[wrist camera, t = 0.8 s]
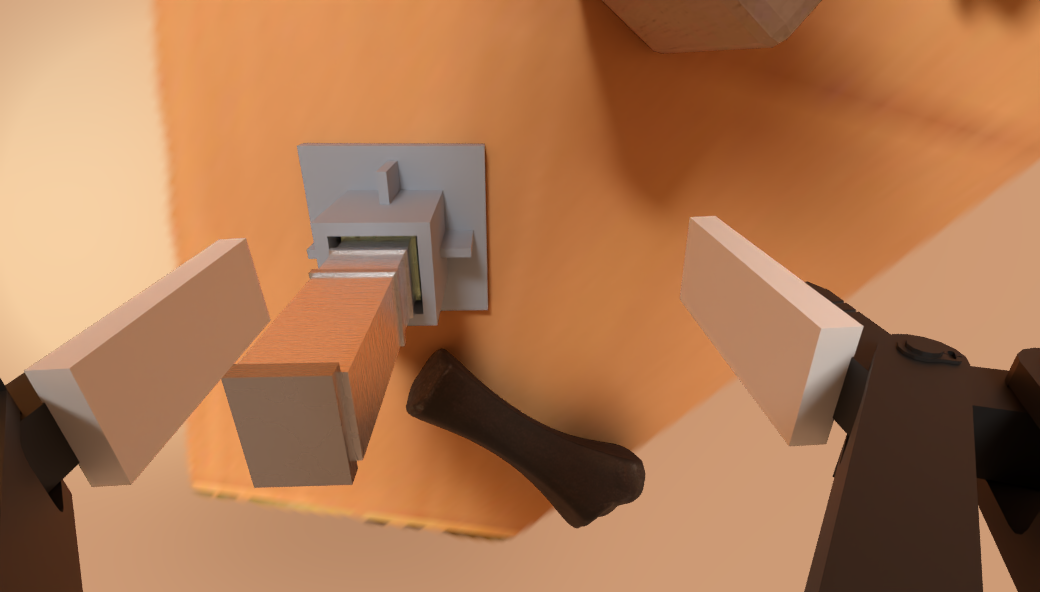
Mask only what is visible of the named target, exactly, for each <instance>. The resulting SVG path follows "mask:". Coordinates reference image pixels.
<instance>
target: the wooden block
mask: <svg viewBox="0 0 1040 592" xmlns="http://www.w3.org/2000/svg"><path fill="white" fill-rule="evenodd" d="M602 1H603V2H604V3H605V4H606V5H607V6H608V7H609V8H610V9H611V10H612V11H613V12H614V13H615V14H616V15H617V16H618V17H619V18H620V19H621V20H622V21H623V22H624V23H626V24H627V25H628V26H629V27H630V28H631V29H632V30H633V31H634V32H635V33H636V34H637V35H638V36H639V37H640V38H641V39H642V40H643V41H644V42H645V43H646V44H647V45H648V46H649V47H650V48H651V49H652V50H653V51H656V52H659V53H680V52H698V51H717V50H735V49H754V48H773V47H774V46H776V45H778V44H780V43H781V42H783V41H785V40H787V39H788V38H789V37H790V35H791V34H792V33H793V32H794V31H795V30H796V29H797V28H798V26H799V25H800V24H801V23H802V22H803V21H804V20H805V19H806V17H807V16H808V15H809V14H810V13H811V12H812V11H813V10H814V8H815V7H816V6H817V5H818V4H819V3H820V2H821V1H822V0H602Z"/></svg>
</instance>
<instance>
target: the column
mask: <svg viewBox="0 0 1040 592" xmlns="http://www.w3.org/2000/svg"><path fill="white" fill-rule="evenodd" d="M309 277H310V279H309V281H308V282H307V283H306V284H305V285H304V286H303V288H302V289H301V290H300V291H299V292H298V294H297V295H296V296H295V297H294V298H293V299H292V301H291V302H290V303H289V304H288V305H287V306H286V308H285V309H284V310H283V311H282V312H281V313H280V315H279V316H278V317H277V318H276V319H275V320H274V322H273V323H272V324H271V325H270V326H269V328H268V329H267V330H266V331H265V332H264V333H263V335H262V336H261V337H260V338H259V339H258V340H257V342H256V343H255V344H254V345H253V346H252V347H251V349H250V350H249V351H248V352H247V353H246V354H245V356H244V357H243V358H242V359H241V360H240V361H239V363H238V364H233V365H232V366H231V368H230V369H229V370H228V371H227V372H226V373H225V375H224V376H223V377H222V378H221V380H222V383H223V386H224V389H225V393H226V396H227V399H228V403H229V406H230V409H231V413H232V416H233V419H234V422H235V426H236V429H237V432H238V436H239V439H240V442H241V445H242V449H243V452H244V455H245V459H246V462H247V465H248V469H249V472H250V475H251V478H252V482H253V485H254V488H259V487H292V486H326V485H352V484H353V481H354V478H355V475H356V472H357V469H358V467H357V460H363V458H364V455H365V452H366V449H367V446H368V443H369V440H370V437H371V434H372V431H373V428H374V425H375V422H376V419H377V416H378V413H379V410H380V407H381V404H382V401H383V398H384V395H385V392H386V389H387V386H388V383H389V380H390V377H391V374H392V371H393V368H394V365H395V362H396V359H397V356H398V353H399V349H400V346H405V344H406V336H405V331H406V328H407V325H408V322H409V319H410V318H414V315H415V313H414V304H415V301H416V300H421V298H422V290H421V278H420V267H419V255H418V243H417V236H341V243H340V244H339V245H338V247H337V248H330V249H329V257H328V258H327V260H326V261H325V262H324V263H323V264H322V265H321V267H320V268H319V269H312V270H311V271H310V272H309Z"/></svg>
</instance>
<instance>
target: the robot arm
mask: <svg viewBox="0 0 1040 592" xmlns="http://www.w3.org/2000/svg"><path fill="white" fill-rule="evenodd" d="M680 300H681V302H682V303H683V304H684V306H685V307H686V308H687V310H688V311H689V312H690V314H691V315H692V316H693V318H694V319H695V321H696V322H697V323H698V325H699V326H700V327H701V329H702V330H703V331H704V333H705V334H706V335H707V337H708V338H709V339H710V341H711V342H712V343H713V345H714V346H715V347H716V349H717V350H718V351H719V353H720V354H721V355H722V357H723V358H724V360H725V361H726V362H727V364H728V365H729V366H730V368H731V369H732V370H733V372H734V373H735V374H736V376H737V377H738V378H739V380H740V381H741V382H742V384H743V385H744V386H745V388H746V389H747V390H748V392H749V393H750V394H751V396H752V397H753V399H754V400H755V401H756V402H757V404H758V405H759V407H760V408H761V409H762V410H763V412H764V413H765V415H766V416H767V417H768V419H769V420H770V421H771V423H772V424H773V425H774V427H775V428H776V429H777V431H778V432H779V433H780V435H781V436H782V437H783V439H784V440H785V442H786V443H787V444H788V445H789V446H800V445H801V446H803V445H819V444H826V443H827V440H828V437H829V434H830V431H831V427H832V424H833V421H834V420H835V421H836V422H837V423H838V424H839V425H840V426H841V428H842V429H843V430H844V431H845V432H846V433H847V436H846V439H845V441H844V445H843V448H842V450H841V453H840V457H839V459H838V462H837V465H836V468H835V471H834V474H833V477H834V481H833V486H832V489H831V493H830V496H829V500H828V504H827V508H826V512H825V515H824V519H823V523H822V527H821V531H820V535H819V538H818V542H817V546H816V549H815V553H814V557H813V561H812V565H811V568H810V572H809V576H808V580H807V584H806V587H805V591H804V592H983V583H982V565H981V548H980V530H979V513H978V506H979V508H980V510H981V512H982V514H983V516H984V519H985V521H986V523H987V525H988V527H989V530H990V532H991V534H992V536H993V538H994V541H995V543H996V545H997V547H998V549H999V551H1000V554H1001V556H1002V558H1003V560H1004V562H1005V564H1006V567H1007V569H1008V571H1009V573H1010V575H1011V578H1012V580H1013V582H1014V584H1015V586H1016V589H1017V591H1018V592H1040V348H1030V349H1023V350H1022V351H1021V352H1019V353H1018V354H1017V356H1016V358H1015V360H1014V362H1013V364H1012V366H1011V368H1010V370H1009V371H1007V370H998V369H990V368H981V367H972V366H970V364H969V362H968V360H967V358H966V357H965V356H964V355H962V354H961V353H960V352H959V351H957V350H956V349H954V348H952V347H950V346H947V345H945V344H943V343H941V342H938V341H935V340H932V339H928V338H925V337H920V336H914V335H908V334H892V335H891V334H889V333H888V332H886V331H885V330H884V329H882V328H881V327H879V326H878V325H877V324H875V323H874V322H872V321H871V320H870V319H868V318H867V317H865V316H864V315H863V314H861V313H860V312H856V310H855V309H854V308H853V307H851V306H850V305H849V304H847V303H844V301H843V300H842V299H840V298H839V297H837V296H836V295H835V294H833V293H832V292H830V291H829V290H827V289H824V288H822V287H819V286H817V285H815V284H812V283H810V282H803V281H802V280H801V279H799V278H798V277H797V276H795V275H794V274H793V273H791V272H790V271H789V270H787V269H786V268H785V267H783V266H782V265H781V264H779V263H778V262H777V261H775V260H774V259H772V258H771V257H770V256H768V255H767V254H766V253H764V252H763V251H762V250H760V249H759V248H758V247H756V246H755V245H754V244H752V243H751V242H750V241H748V240H747V239H746V238H744V237H743V236H742V235H740V234H739V233H738V232H736V231H735V230H734V229H732V228H731V227H729V226H728V225H727V224H725V223H724V222H723V221H721V220H720V219H719V218H717V217H716V216H701V217H690V219H689V228H688V236H687V244H686V252H685V260H684V268H683V277H682V285H681V293H680ZM269 322H270V317H269V313H268V310H267V307H266V303H265V300H264V297H263V293H262V290H261V287H260V283H259V280H258V277H257V273H256V270H255V267H254V263H253V260H252V257H251V253H250V250H249V247H248V243H247V240H246V238H239V239H219V240H218V241H216V242H215V243H213V244H212V245H210V246H209V247H207V248H206V249H204V250H203V251H202V252H200V253H199V254H197V255H196V256H194V257H193V258H191V259H190V260H188V261H187V262H185V263H184V264H182V265H181V266H179V267H178V268H176V269H175V270H173V271H172V272H170V273H169V274H167V275H166V276H164V277H163V278H161V279H160V280H158V281H157V282H155V283H154V284H152V285H151V286H149V287H148V288H146V289H145V290H143V291H142V292H140V293H139V294H137V295H136V296H134V297H133V298H131V299H130V300H128V301H127V302H126V303H124V304H123V305H121V306H120V307H118V308H117V309H115V310H114V311H112V312H111V313H109V314H108V315H106V316H105V317H103V318H102V319H100V320H99V321H97V322H96V323H94V324H93V325H91V326H90V327H88V328H87V329H85V330H84V331H82V332H81V333H79V334H78V335H76V336H75V337H73V338H72V339H70V340H69V341H67V342H66V343H64V344H63V345H61V346H60V347H58V348H57V349H55V350H54V351H53V352H51V353H50V354H48V355H46V356H45V357H44V358H42V359H41V360H39V361H38V362H36V363H35V364H33V365H32V366H30V367H29V368H27V369H26V370H24V373H23V374H21V375H20V376H19V377H17V378H16V379H14V380H13V381H11V382H10V383H8V384H7V385H4V384H3V382H2V380H1V379H0V592H83V590H82V580H81V572H80V563H79V554H78V545H77V537H76V529H75V519H74V510H73V502H72V494H71V492H70V490H69V489H68V488H67V486H66V484H65V482H64V481H63V478H64V477H65V476H66V475H67V474H68V473H69V472H70V471H71V470H73V468H74V467H76V466H77V465H78V464H79V466H80V468H81V469H82V471H83V473H84V475H85V476H86V478H87V480H88V481H89V483H90V485H91V486H92V487H99V486H116V485H131V484H132V483H133V482H134V481H135V480H136V478H137V477H138V476H139V475H140V473H141V472H142V471H143V470H144V469H145V468H146V467H147V465H148V464H149V463H150V462H151V461H152V460H153V458H154V457H155V456H156V455H157V454H158V452H159V451H160V450H161V449H162V448H163V447H164V445H165V444H166V443H167V442H168V441H169V439H170V438H171V437H172V436H173V435H174V434H175V432H176V431H177V430H178V429H179V428H180V427H181V425H182V424H183V423H184V422H185V421H186V419H187V418H188V417H189V416H190V415H191V414H192V412H193V411H194V410H195V409H196V408H197V407H198V405H199V404H200V403H201V402H202V401H203V399H204V398H205V397H206V396H207V395H208V394H209V392H210V391H211V390H212V389H213V388H214V386H215V385H216V384H217V383H218V382H219V381H220V379H221V378H222V377H223V376H224V375H225V373H226V372H227V371H228V370H229V369H230V368H231V366H232V365H233V364H234V363H235V362H236V361H237V359H238V358H239V357H240V356H241V355H242V353H243V352H244V351H245V350H246V349H247V348H248V346H249V345H250V344H251V343H252V342H253V340H254V339H255V338H256V337H257V336H258V335H259V333H260V332H261V331H262V330H263V329H264V327H265V326H266V325H267V324H268V323H269Z"/></svg>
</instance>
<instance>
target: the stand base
mask: <svg viewBox="0 0 1040 592" xmlns="http://www.w3.org/2000/svg"><path fill="white" fill-rule="evenodd" d="M297 149H298V155H299V160H300V166H301V171H302V177H303V183H304V188H305V194H306V199H307V205H308V210H309V216H310V221H311V223H310V224H311V229H312V235H313V240H314V243H313V244H312V245H311V246H310V247H309V248H308V249H307V253H308V259H317V262H318V268H320V267H321V265H322V264H323V263H324V262H325V261H326V260H327V258H328V257H329V249H330V248H337V247H338V245H339V244H340V243H341V236H417V243H418V255H419V267H420V278H421V290H422V298H421V300H416V301H415V304H414V313H415V315H414V318H410V319H409V322H408V325H407V326H425V325H437V324H438V320H439V315H440V311H453V310H488V278H487V232H486V185H485V144H367V143H303V144H300V145H298V146H297Z"/></svg>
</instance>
